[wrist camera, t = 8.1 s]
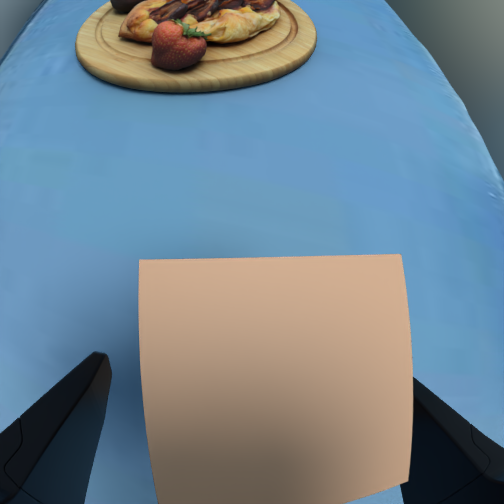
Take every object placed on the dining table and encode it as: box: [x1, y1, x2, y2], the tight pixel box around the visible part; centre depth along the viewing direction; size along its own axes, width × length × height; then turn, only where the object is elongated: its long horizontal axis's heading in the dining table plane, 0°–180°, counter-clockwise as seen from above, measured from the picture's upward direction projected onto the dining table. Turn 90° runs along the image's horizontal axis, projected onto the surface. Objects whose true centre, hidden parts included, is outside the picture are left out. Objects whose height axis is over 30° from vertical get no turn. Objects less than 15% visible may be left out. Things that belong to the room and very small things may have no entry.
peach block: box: [139, 254, 413, 504], centre depth 11 cm, size 5×5×12 cm
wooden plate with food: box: [75, 0, 317, 92], centre depth 28 cm, size 32×32×8 cm
